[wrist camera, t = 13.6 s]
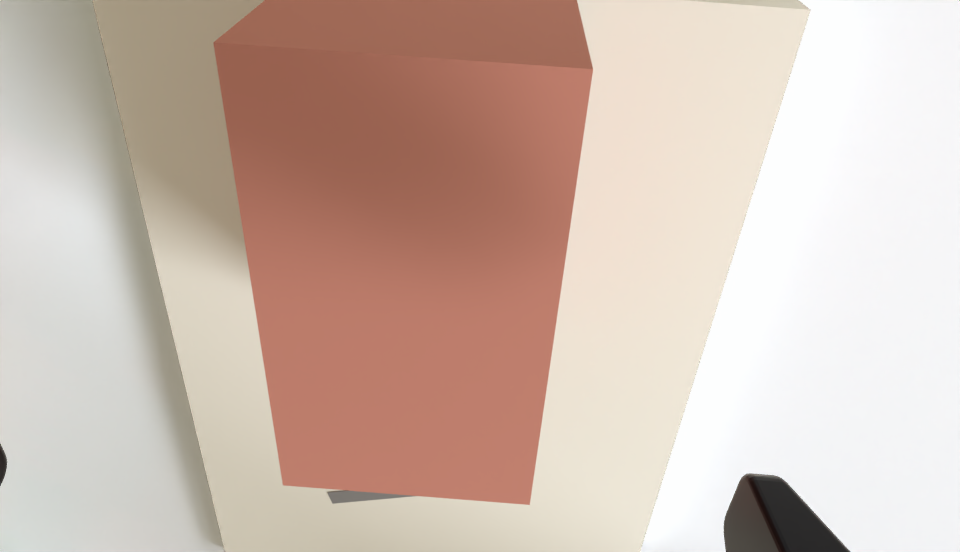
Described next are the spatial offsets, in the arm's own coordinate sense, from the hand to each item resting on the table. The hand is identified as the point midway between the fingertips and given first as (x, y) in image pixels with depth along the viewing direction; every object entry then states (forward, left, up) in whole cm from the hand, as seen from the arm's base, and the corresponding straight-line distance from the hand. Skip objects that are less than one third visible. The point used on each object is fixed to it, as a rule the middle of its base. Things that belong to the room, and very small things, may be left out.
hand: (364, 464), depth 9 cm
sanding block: (0, 0, -8) cm, 8 cm away
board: (-6, 0, -9) cm, 11 cm away
